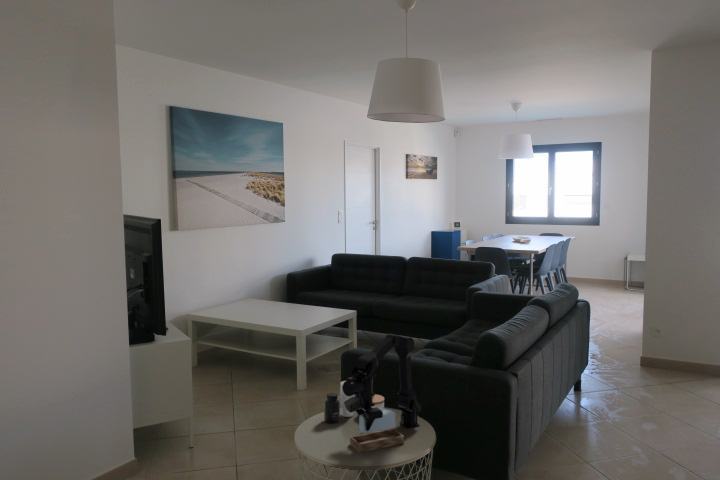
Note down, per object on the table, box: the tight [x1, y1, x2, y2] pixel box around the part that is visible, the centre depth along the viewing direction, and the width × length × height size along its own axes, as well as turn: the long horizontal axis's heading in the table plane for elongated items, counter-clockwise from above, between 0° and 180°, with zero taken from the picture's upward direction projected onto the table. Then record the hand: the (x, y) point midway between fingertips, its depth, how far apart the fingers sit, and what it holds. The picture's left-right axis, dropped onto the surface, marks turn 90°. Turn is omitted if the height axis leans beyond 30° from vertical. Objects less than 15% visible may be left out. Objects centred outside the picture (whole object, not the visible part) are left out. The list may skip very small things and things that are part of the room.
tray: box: [349, 428, 405, 454], centre depth 216 cm, size 20×8×3 cm, turn 117°
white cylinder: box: [339, 380, 355, 418], centre depth 246 cm, size 7×7×15 cm
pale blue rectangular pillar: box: [358, 409, 396, 434], centre depth 216 cm, size 14×4×6 cm, turn 115°
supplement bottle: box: [323, 392, 341, 425], centre depth 239 cm, size 7×7×12 cm
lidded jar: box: [371, 394, 385, 409], centre depth 247 cm, size 11×11×9 cm
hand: (365, 428), depth 214 cm, fingers closed on pale blue rectangular pillar, 4 cm apart
